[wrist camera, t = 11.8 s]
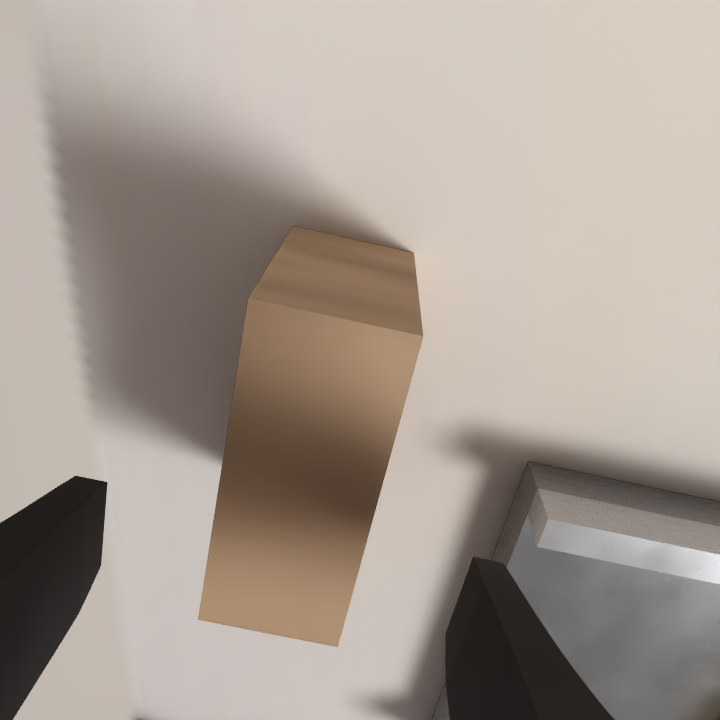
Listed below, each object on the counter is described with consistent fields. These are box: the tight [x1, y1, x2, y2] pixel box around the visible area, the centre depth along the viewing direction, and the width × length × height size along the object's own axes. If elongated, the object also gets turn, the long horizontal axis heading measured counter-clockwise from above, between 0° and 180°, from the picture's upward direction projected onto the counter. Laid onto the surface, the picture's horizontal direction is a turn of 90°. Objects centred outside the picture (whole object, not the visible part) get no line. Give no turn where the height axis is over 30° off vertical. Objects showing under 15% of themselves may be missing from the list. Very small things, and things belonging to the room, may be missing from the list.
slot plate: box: [432, 462, 720, 720], centre depth 23 cm, size 13×10×3 cm
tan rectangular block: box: [198, 226, 423, 647], centre depth 18 cm, size 8×4×6 cm, turn 168°
